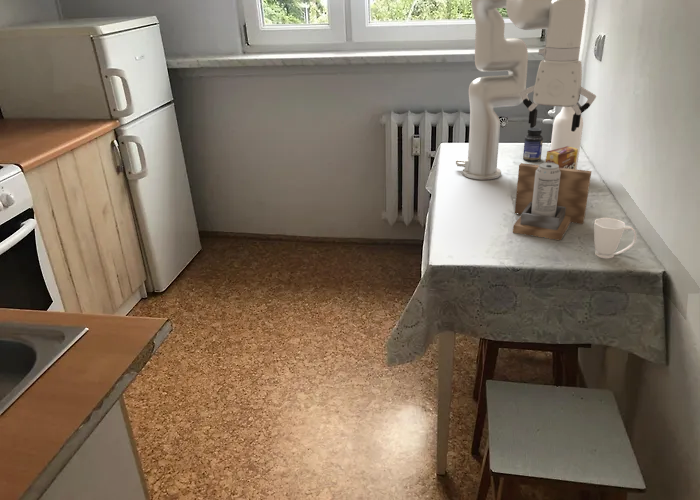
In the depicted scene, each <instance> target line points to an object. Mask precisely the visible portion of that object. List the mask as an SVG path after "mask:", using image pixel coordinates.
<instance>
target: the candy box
mask: <svg viewBox="0 0 700 500" xmlns="http://www.w3.org/2000/svg"><path fill="white" fill-rule="evenodd" d="M577 153H578V149H576V148H573V147H568V146H566V147H563V148H559V149H555V150H551V151H550V150H547V151H546V156H545V163H555V164H558V165H559V168H568V169H575V165H576V159H577Z"/></svg>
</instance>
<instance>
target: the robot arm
mask: <svg viewBox="0 0 700 500" xmlns="http://www.w3.org/2000/svg"><path fill="white" fill-rule="evenodd" d="M470 1H471V3H470V4H471V10H472V14H473V18H474V21H475V22H474V23H475V36H474V38H475V40H474V64H475V68H476V69H477V70H478V71H479V72H484V73H487V72H488V73H491V72H508V73H507V75H489V76H488V75H487V76H480V77H477V78H475V79H474V80H472V81H471V82H470V84H469V85H468V86H469V87H468V101H469V114H470V115H469V136H468V152H467V153H468V155H467V158H466V159H461V158H456V161H455V165H456V166H457V167H461V168H463V169H462V173H461V174H462V175H463V176H464V177H466V178H468V179H471V180H478V181H479V180H481V181H483V180H495V179H498V178H499V177H501V175H502V171H501V169H499V168H498V157H499V144H500V130H501V129H500V128H501V119H500V118H499V115H498V114H497V113H496V112H495V110H494V108H503V107H504V108H506V107H515V106H517V107H518V106H519V105H521V104H523V105H524V106H525V107H526V108H527V110H528V111H529V113H528V114H529V115H528V124H530V126H529V128H535V127H536V126H537V120H538V119H537V118H538V109H537V107H538V106H549V107H561V108H562V107H572V109H573V110H574V111H575V114H574V115H573V120H572V128H571V131H573V132H574V131H575V130H576V128H579V125H580V118H581V116H582V114H583V113H584V112H585V111H587V110H588V109H589V108H590V107H591V106H592V104H593V103H594V101H595V100H596V98H597V95H596V94H594V93H593V92H591V91H589V90H588V89H586V88H584V86H583V87H582V75H583V73H582V72H583V70H582V69H583V67H582V61H581V60H579V57H580V51H581V44H582V37H583V30H584V29H583V28H584V21H585V14H586V6H587V5H586V4H587V2H586V0H470ZM498 9H506V13H507V17H508V19H509V20H510V21H511V22H512V24H513V25H515V27H517V28H518V29H520V30H523V31H529V30H530V31H533V30H547V31H546V41H545V46H544V48H539V50H538V56H542V57H543V59H542V60H540V62H539V65H538V69H537V72H536V77H535V81H534V82H535V83H534V85H531V86H529V87H527V79H528V78H527V75H528V59H529V54H528V53H529V52H528V48H527V43H525V41H524V40H523V39H521V38H517V37H515V38H514V37H512V38H505V27H506V25H505V19H504V17H503V16H502V14H501V13H500V11H499V10H498ZM531 93H533V96H532V101H533V102H532V101H531V99H530V98H529V96H528V94H531ZM581 95H582V96H583V97H585V98H587V100H586V102H585V103H584V104H582V105H581V104H580V99H581Z"/></svg>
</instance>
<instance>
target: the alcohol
mask: <svg viewBox="0 0 700 500" xmlns="http://www.w3.org/2000/svg"><path fill="white" fill-rule="evenodd" d="M574 114H575V111H574V110H573V109H572V107H561V110H560V112H558V114H557V115H556V116H555V117H554V120H553V124H552V133H551V141H550V142H551V143H550V150H549V151H551V150H555V149H559V148H563V147H566V146H568V147H573V148H576V149H578V153H577V159H576V165H575V169H577V170H578V163H579V156H580V150H581V149H580V147H581V141H582V135H583V128H584V118H583V116H582V115H581V118H580V125H579V128H576V130H575V131H574V132H573V131H571V128H572V120H573V115H574Z"/></svg>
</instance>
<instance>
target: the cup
mask: <svg viewBox="0 0 700 500" xmlns="http://www.w3.org/2000/svg"><path fill="white" fill-rule="evenodd" d="M593 225H594V226H593V230H594V232H593V235H594V237H593V240H594V241H593V243H594V250H595V251H594V255H595V256H597V257H598V258H602V259H607V260H608V259H613V258H614V257H615V256H619V255H620V254H623V253H625V252H627V251H628V250H630V249H632V247H634V245H635V244H636V242H637V238H638V237H637V231H636V230H635V229H634V228H633V227H632V226H629V225H626V222H624V221H622V220H620V219H618V218H613V217H600V218H596V219H594V224H593ZM625 230H632V232H633V240H632V241H631V243H630V244H628V246H626V247H625V248H623V249H621V250H618V251H617V249H618V247H619V245H620V242H621V239H622V236H623V234H624V231H625ZM616 251H617V252H616Z"/></svg>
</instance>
